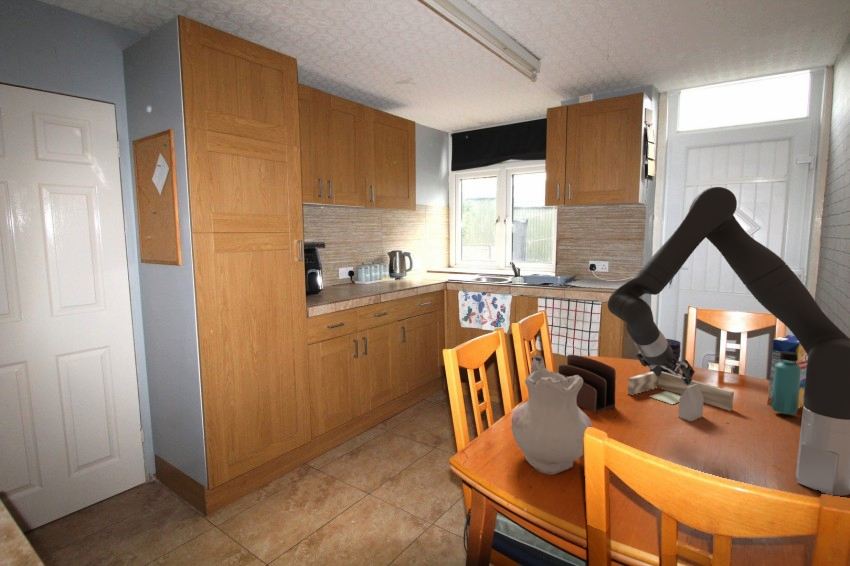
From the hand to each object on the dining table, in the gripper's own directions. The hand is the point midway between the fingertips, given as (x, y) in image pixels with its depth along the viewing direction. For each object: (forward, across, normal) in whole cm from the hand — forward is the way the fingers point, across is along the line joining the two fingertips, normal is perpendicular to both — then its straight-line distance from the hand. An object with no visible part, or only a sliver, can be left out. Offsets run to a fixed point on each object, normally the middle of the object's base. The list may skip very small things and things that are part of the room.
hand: (673, 377), depth 126 cm
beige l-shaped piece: (+23, +9, -3) cm, 25 cm away
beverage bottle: (+36, -14, -16) cm, 42 cm away
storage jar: (+36, +24, -16) cm, 46 cm away
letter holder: (+5, +26, +16) cm, 31 cm away
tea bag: (+18, 0, +3) cm, 18 cm away
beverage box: (+44, -11, -23) cm, 51 cm away
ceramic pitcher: (-22, +5, +42) cm, 48 cm away
